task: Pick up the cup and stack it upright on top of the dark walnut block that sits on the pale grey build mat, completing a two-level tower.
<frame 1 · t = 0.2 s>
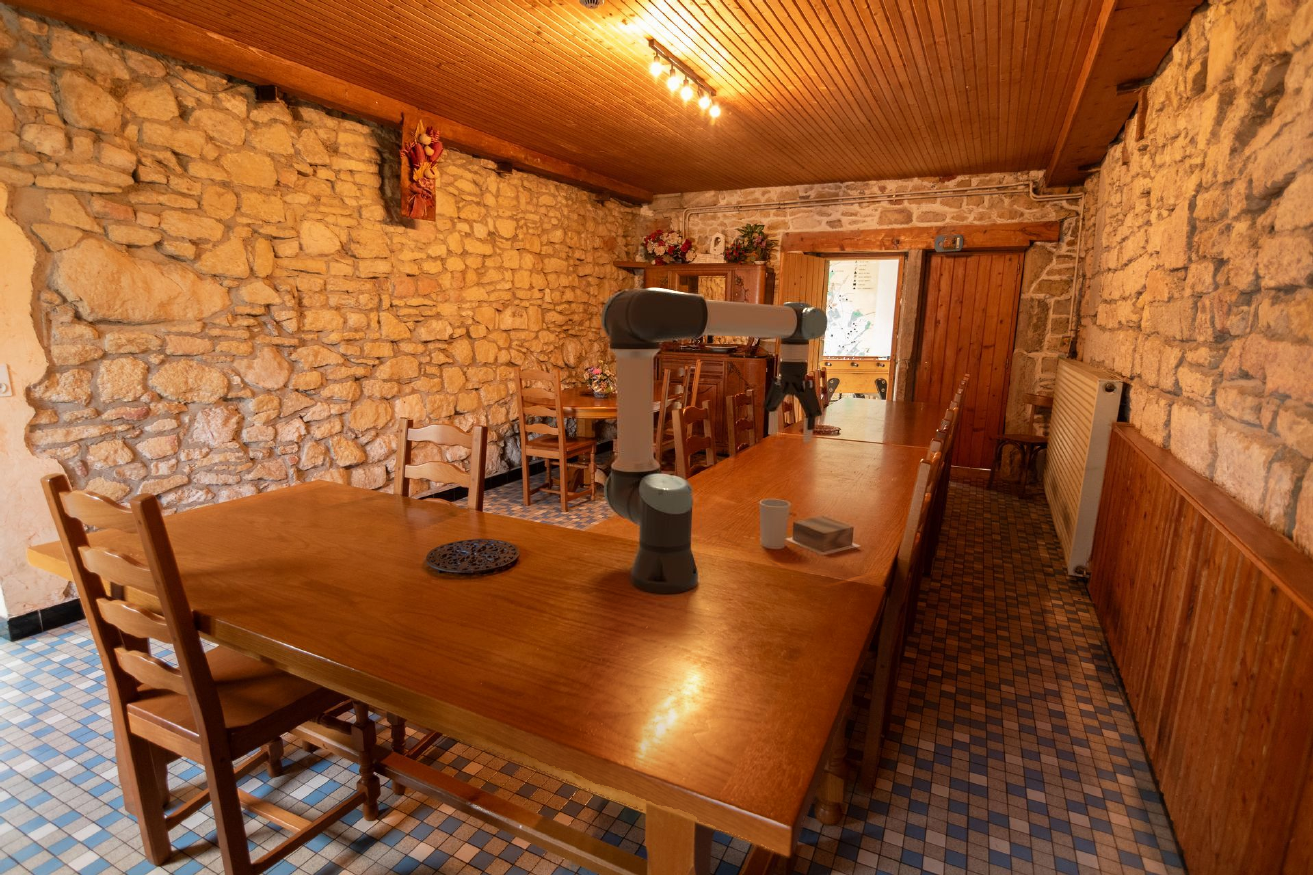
hand: (789, 437, 170), 27 cm above the table, fingers open, 13 cm apart
cup: (772, 547, 162), on the table
build mat: (821, 544, 165), on the table
base block: (822, 542, 165), point 1 cm above the table, touching build mat
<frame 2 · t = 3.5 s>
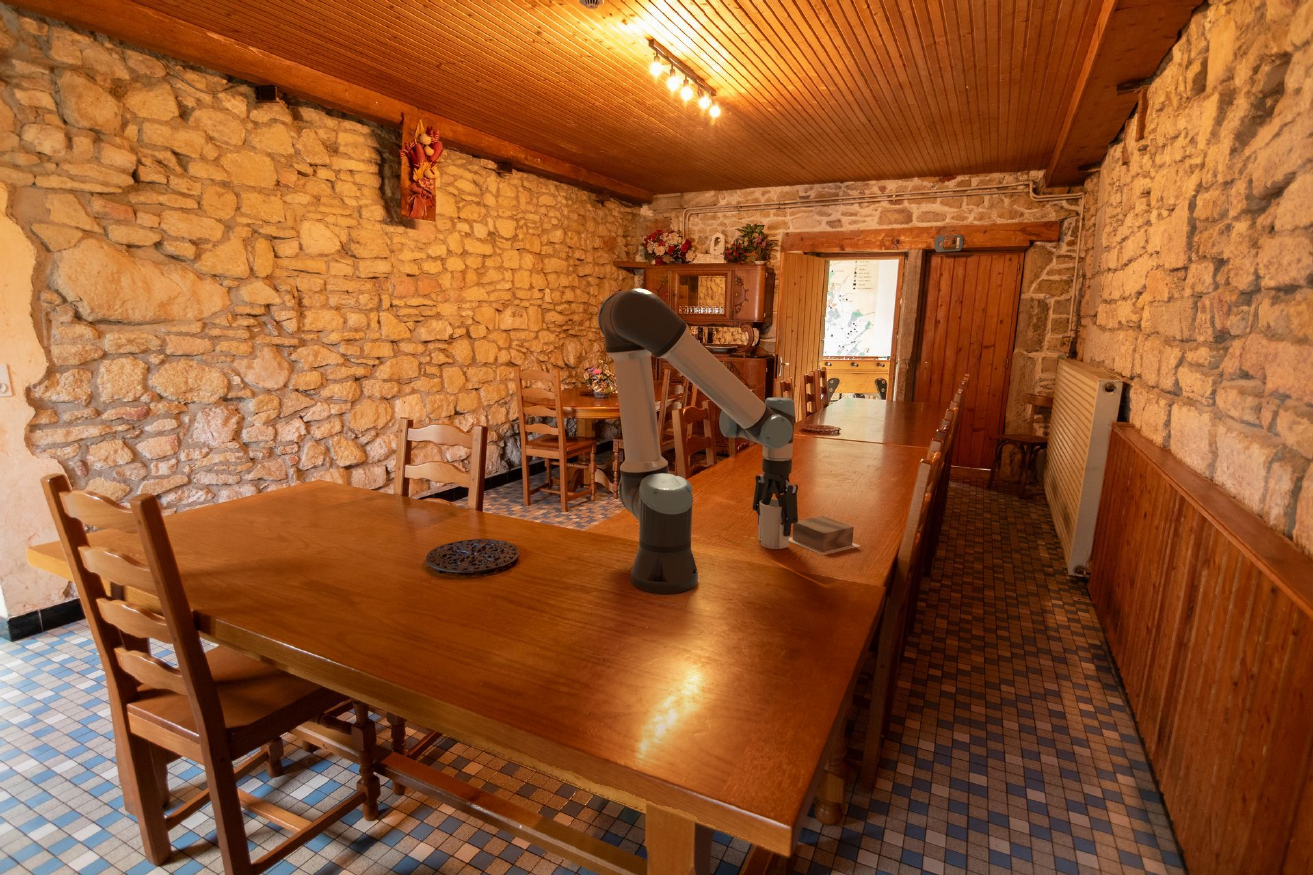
hand: (772, 542, 162), 1 cm above the table, fingers closed on cup, 7 cm apart
cup: (772, 547, 162), on the table, touching gripper
everything else where it was.
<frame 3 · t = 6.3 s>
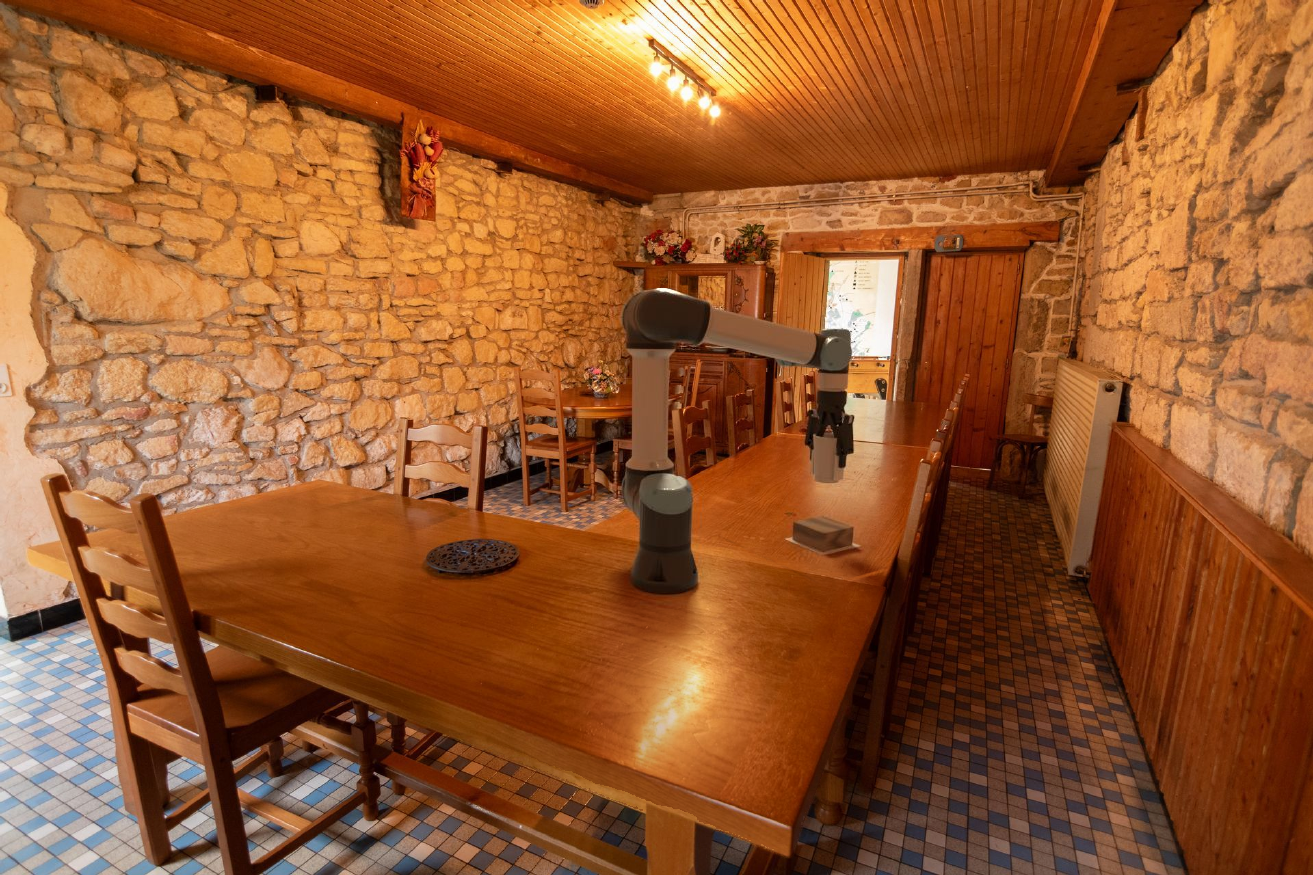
hand: (826, 476, 162), 19 cm above the table, fingers closed on cup, 7 cm apart
cup: (826, 481, 162), point 17 cm above the table, touching gripper
everything else where it was.
when the fingers open (8 cm above the table, at t = 8.9 s): cup drops 1 cm, resting on base block.
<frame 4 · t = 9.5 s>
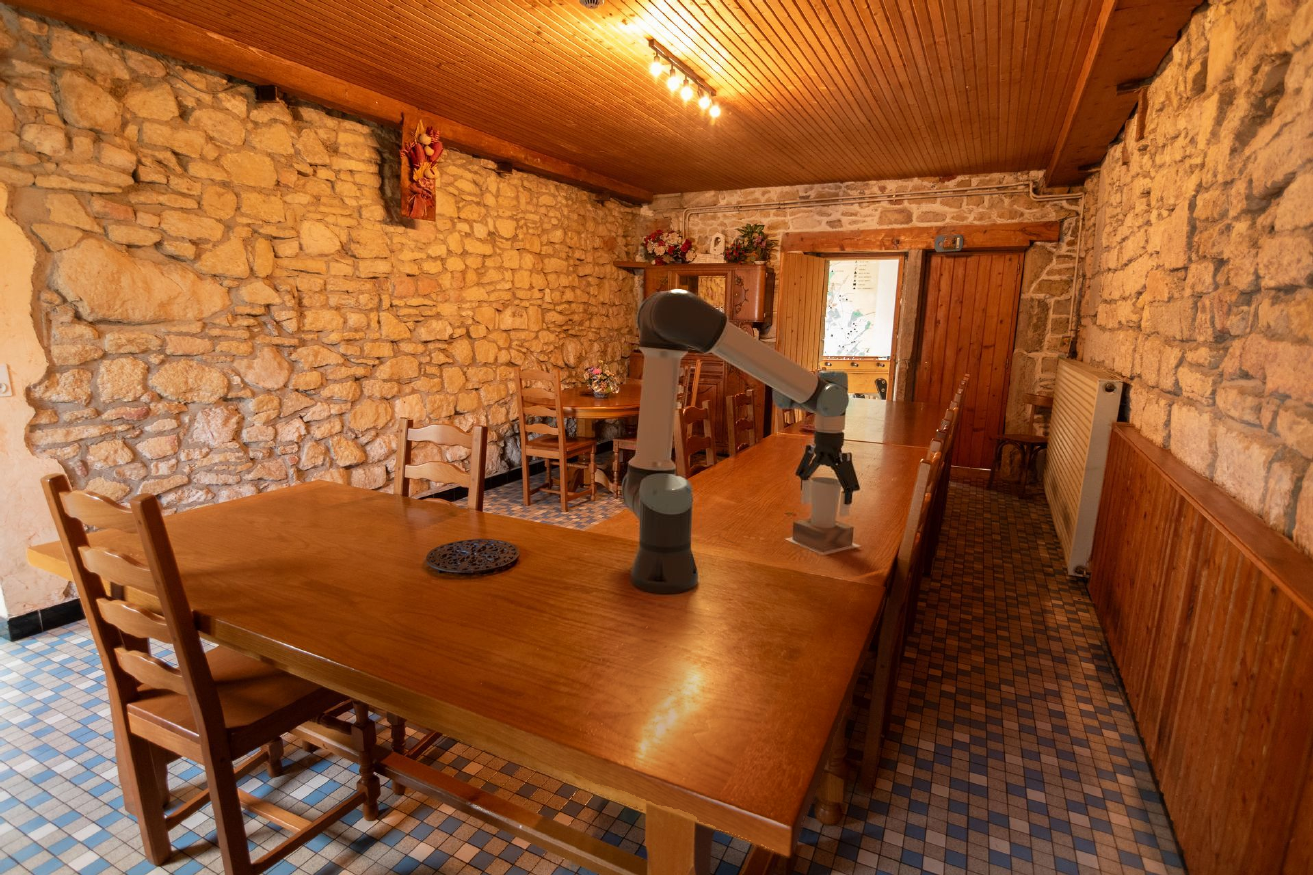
hand: (824, 509, 163), 10 cm above the table, fingers open, 13 cm apart
cup: (823, 524, 164), point 5 cm above the table, touching base block
base block: (822, 542, 165), point 1 cm above the table, touching build mat, cup
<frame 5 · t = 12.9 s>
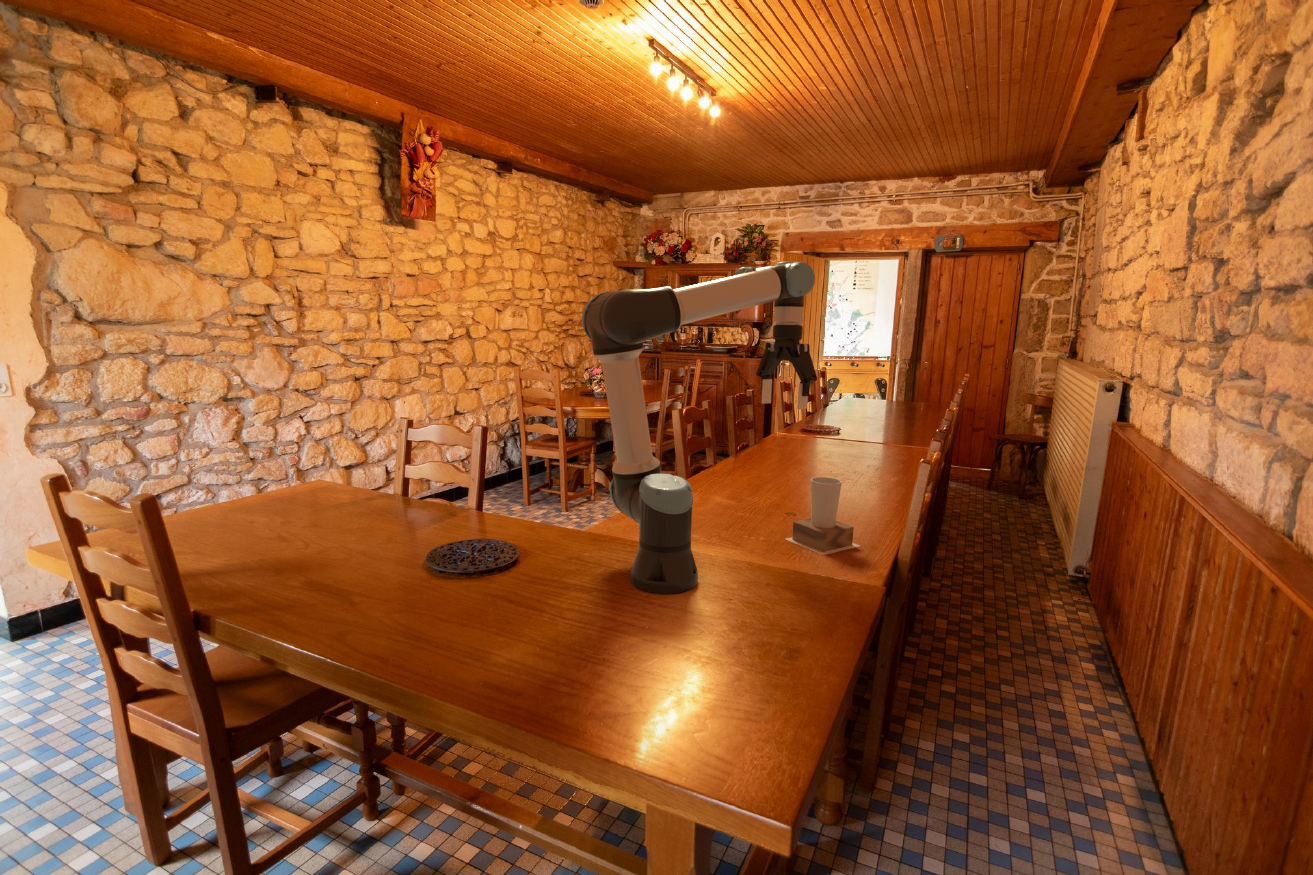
hand: (783, 406, 162), 37 cm above the table, fingers open, 13 cm apart
nothing on the table moved.
at the end: cup 0.0 cm from the base block (horizontally); cup point 5.4 cm above the table; cup tilted 0° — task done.
